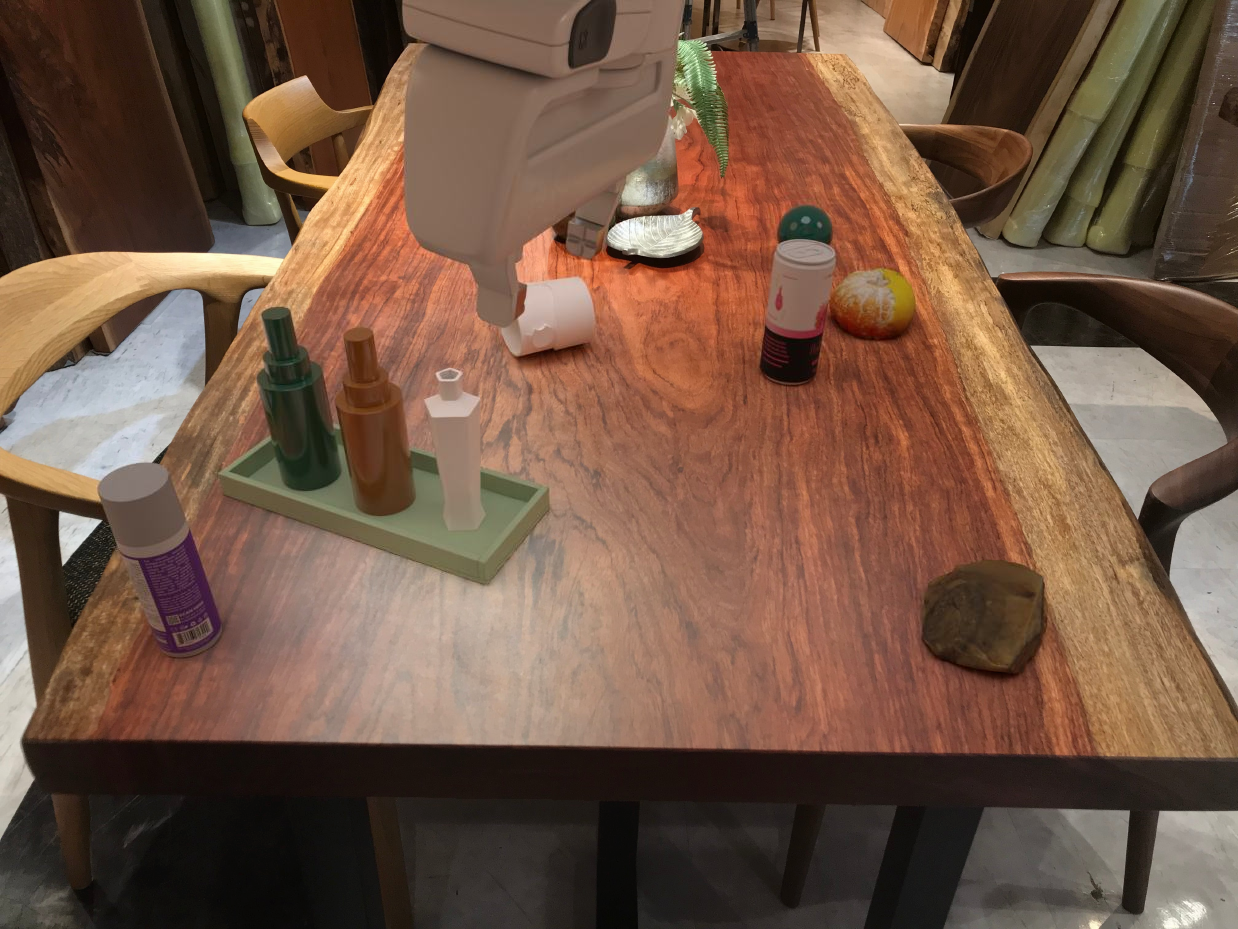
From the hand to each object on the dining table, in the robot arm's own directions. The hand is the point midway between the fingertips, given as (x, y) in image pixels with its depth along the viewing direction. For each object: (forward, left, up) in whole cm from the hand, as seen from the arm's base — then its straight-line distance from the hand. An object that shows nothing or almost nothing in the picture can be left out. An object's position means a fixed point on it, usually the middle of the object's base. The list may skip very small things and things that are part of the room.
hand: (545, 283), depth 46 cm
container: (-6, +29, -33) cm, 44 cm away
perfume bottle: (+14, +17, -33) cm, 39 cm away
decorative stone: (+21, -27, -33) cm, 48 cm away
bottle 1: (+14, +34, -32) cm, 49 cm away
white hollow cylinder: (+48, +27, -33) cm, 64 cm away
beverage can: (+54, -2, -33) cm, 63 cm away
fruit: (+71, -8, -33) cm, 79 cm away
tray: (+14, +25, -33) cm, 44 cm away
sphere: (+87, +5, -33) cm, 93 cm away
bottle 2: (+14, +25, -32) cm, 43 cm away
